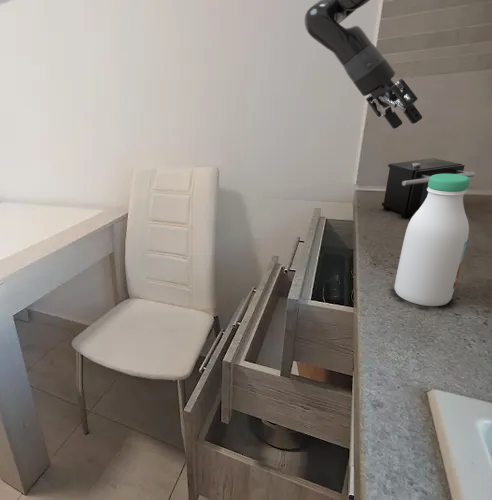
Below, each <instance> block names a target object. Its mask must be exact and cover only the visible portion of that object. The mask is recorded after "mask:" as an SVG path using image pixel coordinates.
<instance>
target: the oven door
mask: <svg viewBox="0 0 492 500" xmlns="http://www.w3.org/2000/svg"><path fill="white" fill-rule="evenodd" d="M465 167H466V165H465V164H462V165H457V166H450V167H442V168H435V169H427V170H420V171H415V174H414V179H413V180H407V181H403V182H402V185H403V186H407V185H412V189H411V194H410V199H409V204H408V209H407V212H413V211H418V209H419V208H420V207H421V206H422V204H423V203H424V201H425V199H426V197H427V195H428V191H427V188H428V182H429V178H430V177H431V176H432V175H436V174H459V175H464V176H467V177H468V178H473V177H475V176H476V172H475V171H465Z"/></svg>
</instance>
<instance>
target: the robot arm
mask: <svg viewBox="0 0 492 500" xmlns="http://www.w3.org/2000/svg"><path fill="white" fill-rule="evenodd" d="M370 1H371V0H318V1H317V2H316V3H314V4H313V5H311V6H310V7H309V8H308V10H306V12H305V14H304V20H303V21H304V28H305V31H306V32H307V34H308V35H309V36H310V38H312V39H314V41H316V42H317V43H318V44H320V45H321V46H323V47H324V48H325V49H327V50H329V51H330V52H331V53H333V55H334V56H335V58H336V59H337V61H338V62H339V63H340V65H341V66H342V67H343V69H344V71H345V73H346V75H347V76H348V77H349V79H350V80H351V81H352V83H353V84H354V85H355V87H356V89H357V90H358V91H359V93H360V94H361V95H362V96H363V97H366V96H368V97H366V98H365V100H366V102H367V103H368V105H369V106H370V108H371V109H372V110H373V112H374V113H375V115H376V116H377V118H380V117H382V118H383V119H385V121H387V122H388V125H390V126H391V128H392V129H393V130H395V129H397V128H399V127H400V126H401V125H403V121H402V119H401V118H400V117H399V115H398V114H397V113H396V111H394V109H395V108H398V109H399V110H401V111H402V112H403V114H404V115H405V117H406V118H407V119H408V121H409V122H410V124H412V125H413V124H417V123H418V122H419V121H421V120H422V119H423V116H422V114H421V113H420V112H419V110H418V108H417V107H416V106H415V104H416V101H418V97H417V96H416V94H415V93H414V92H413V90H412V89H411V87H410V86H409V85H408V84H407V83H406V81H405V80H404V79H402V78H400V79H399V80H397V81H396V82H394V81H393V80H392V79H393V78H394V77H395V75H396V71H395V70H394V69H393V67H392V66H391V64H390V63H389V62H388V60H387V58H386V57H385V56H384V55H383V54H382V52H381V51H380V50H379V49H378V48H377V47H376V45H374V43H372V40H370V38H369V37H368V35H367V34H366V32H365V31H364V29H362V27H360V26H359V25H352V26H351V27H344V26H343V25H342V24H340V23H342V22H344V20H346V19H347V18H348V17H349V16H351V15H352V14H353V13H354V12H356V10H358V9H360V8H361V7H363V6H364V5H366V4H367V3H368V2H370Z"/></svg>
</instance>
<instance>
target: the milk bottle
mask: <svg viewBox="0 0 492 500" xmlns="http://www.w3.org/2000/svg"><path fill="white" fill-rule="evenodd" d="M470 181H471V180H470V177H467V176H464V175H459V174H436V175H432V176H431V177H430V178H429V182H428V188H427V191H428V195H427V197H426V199H425V201H424V203H423V204H422V206H421V207H420V208H419V209H418V211H417V212H416V213H414V214H412V216H411V218H410V221H409V222H408V224H407V226H406V230H405V234H404V238H403V243H402V247H401V253H400V255H399V261H398V267H397V271H396V276H395V281H394V287H393V288H394V292H395V293H396V294H397V296H399V297H400V298H401V299H403V300H405V301H407V302H409V303H413V304H415V305H419V306H426V307H439V306H445V305H447V304H448V303H450V301H451V300H452V298H453V295H454V292H455V288H456V285H457V281H458V277H459V274H460V270H461V267H462V263H463V260H464V255H465V252H466V248H467V244H468V240H469V233H470V226H469V221H468V217H467V213H466V211H465V206H464V195H465V194H467V193H468V188H469V186H470Z"/></svg>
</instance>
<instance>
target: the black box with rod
mask: <svg viewBox="0 0 492 500" xmlns="http://www.w3.org/2000/svg"><path fill="white" fill-rule="evenodd" d="M457 165H463V164H462V163H459V162H453V161H449V160H444V159H439V158H434V157H432V158H423V159H416V160H415V159H414V160H409V161H401V162H393V163H388V165H387V168H389V169H388V175H387V180H386V181H387V182H386V187H385V192H384V199H383V202H381V206H382V207H383V210H385V211H390V210H392V211H395V212H396V213H399V214H401V215H400V216H401V218H403V219H408V218H410V215H414V214H415V213H416V212H417V211H413V212H407V209H408V204H409V199H410V194H411V189H412V185H407V186H403V185H402V182H403V181H407V180H413V179H414V174H415V171H420V170H427V169H435V168H442V167H450V166H457Z"/></svg>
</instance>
